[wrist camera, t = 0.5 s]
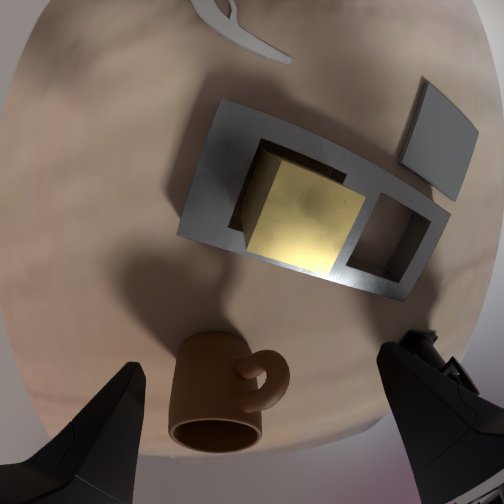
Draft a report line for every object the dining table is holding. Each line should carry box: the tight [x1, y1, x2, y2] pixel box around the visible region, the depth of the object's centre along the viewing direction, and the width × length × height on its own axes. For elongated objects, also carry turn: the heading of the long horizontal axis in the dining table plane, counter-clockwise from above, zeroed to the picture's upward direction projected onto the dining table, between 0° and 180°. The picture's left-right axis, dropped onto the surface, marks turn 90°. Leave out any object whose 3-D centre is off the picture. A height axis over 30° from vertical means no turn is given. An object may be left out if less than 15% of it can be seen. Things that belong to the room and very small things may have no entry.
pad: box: [398, 83, 479, 202], centre depth 18 cm, size 8×8×1 cm
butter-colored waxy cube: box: [240, 150, 366, 275], centre depth 16 cm, size 5×5×7 cm
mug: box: [168, 332, 290, 453], centre depth 21 cm, size 12×8×9 cm, turn 139°
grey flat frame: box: [176, 99, 451, 302], centre depth 19 cm, size 20×9×2 cm, turn 70°
